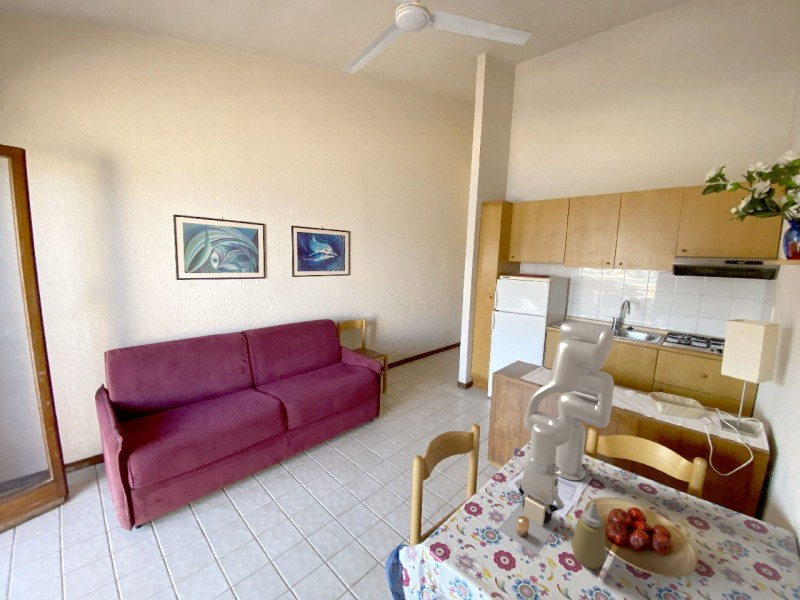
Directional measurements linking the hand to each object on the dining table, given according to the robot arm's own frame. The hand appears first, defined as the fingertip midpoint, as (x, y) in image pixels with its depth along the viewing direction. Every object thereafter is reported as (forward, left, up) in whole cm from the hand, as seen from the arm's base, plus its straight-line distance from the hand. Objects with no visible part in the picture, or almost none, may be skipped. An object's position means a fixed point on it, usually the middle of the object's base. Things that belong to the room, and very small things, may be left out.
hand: (536, 514), depth 109 cm
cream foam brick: (0, 0, 0) cm, 0 cm away
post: (+10, 0, 0) cm, 10 cm away
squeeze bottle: (+5, +16, -2) cm, 17 cm away
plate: (+5, 0, -2) cm, 5 cm away
